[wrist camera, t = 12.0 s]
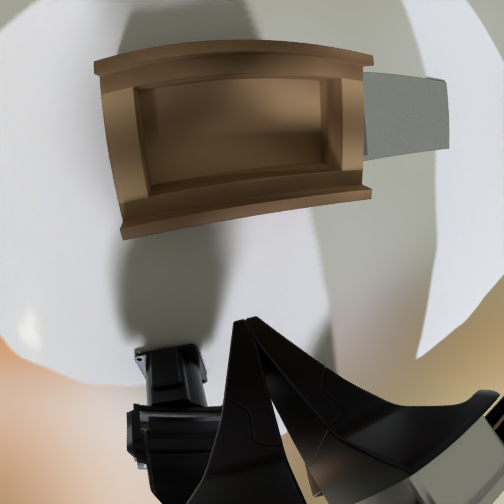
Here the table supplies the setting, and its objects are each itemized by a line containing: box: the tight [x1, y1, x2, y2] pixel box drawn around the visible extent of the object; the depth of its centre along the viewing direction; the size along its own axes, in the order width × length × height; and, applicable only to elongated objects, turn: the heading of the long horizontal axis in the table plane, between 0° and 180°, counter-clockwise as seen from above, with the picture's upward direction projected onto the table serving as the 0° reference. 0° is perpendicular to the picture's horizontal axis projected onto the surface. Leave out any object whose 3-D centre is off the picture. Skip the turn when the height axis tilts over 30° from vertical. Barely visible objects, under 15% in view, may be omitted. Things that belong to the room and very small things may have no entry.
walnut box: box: [94, 40, 374, 240], centre depth 15 cm, size 10×16×5 cm, turn 94°
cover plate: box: [363, 72, 449, 161], centre depth 20 cm, size 8×15×2 cm, turn 101°
